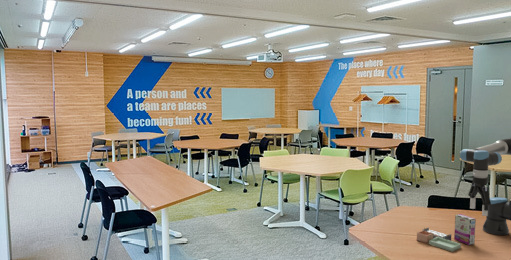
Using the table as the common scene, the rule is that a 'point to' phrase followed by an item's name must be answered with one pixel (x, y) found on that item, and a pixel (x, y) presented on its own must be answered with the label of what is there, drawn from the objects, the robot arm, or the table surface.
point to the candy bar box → (465, 229)
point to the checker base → (436, 236)
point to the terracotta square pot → (424, 236)
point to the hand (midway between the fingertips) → (478, 212)
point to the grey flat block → (437, 234)
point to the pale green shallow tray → (445, 244)
